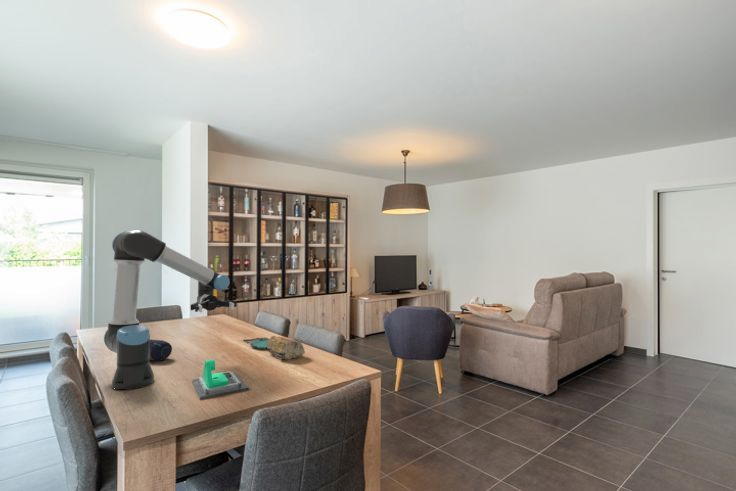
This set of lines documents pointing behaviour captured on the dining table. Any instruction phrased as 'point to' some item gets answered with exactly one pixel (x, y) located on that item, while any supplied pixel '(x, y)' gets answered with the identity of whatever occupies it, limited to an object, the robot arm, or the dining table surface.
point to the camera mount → (213, 375)
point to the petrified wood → (285, 348)
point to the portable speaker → (159, 350)
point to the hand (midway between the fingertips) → (217, 307)
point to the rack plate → (233, 386)
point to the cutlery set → (258, 343)
